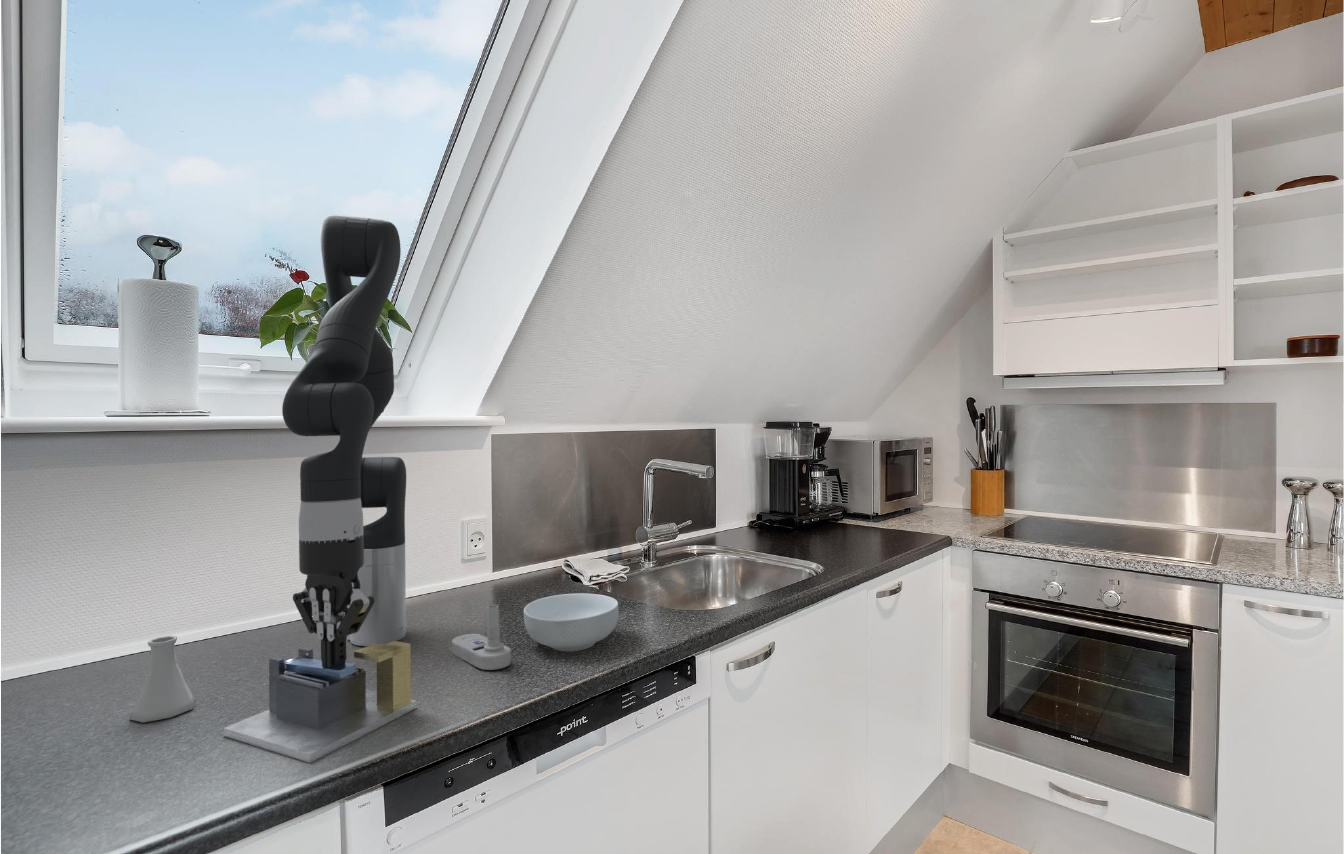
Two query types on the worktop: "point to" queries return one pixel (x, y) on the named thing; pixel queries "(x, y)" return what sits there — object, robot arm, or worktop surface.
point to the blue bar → (317, 667)
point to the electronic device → (484, 645)
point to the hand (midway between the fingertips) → (334, 666)
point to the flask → (162, 685)
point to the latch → (390, 673)
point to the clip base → (309, 737)
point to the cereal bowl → (571, 620)
